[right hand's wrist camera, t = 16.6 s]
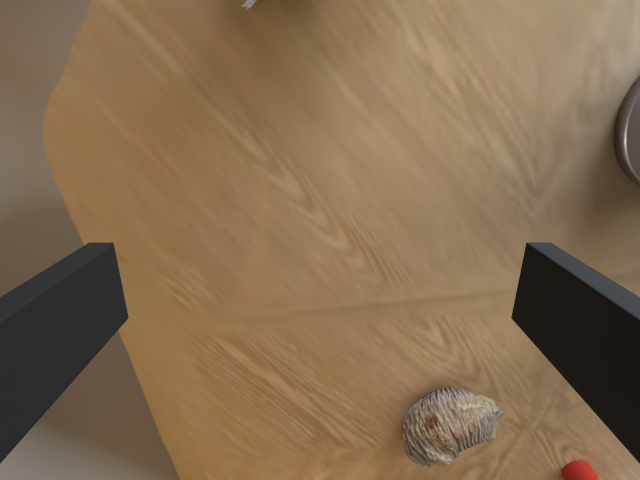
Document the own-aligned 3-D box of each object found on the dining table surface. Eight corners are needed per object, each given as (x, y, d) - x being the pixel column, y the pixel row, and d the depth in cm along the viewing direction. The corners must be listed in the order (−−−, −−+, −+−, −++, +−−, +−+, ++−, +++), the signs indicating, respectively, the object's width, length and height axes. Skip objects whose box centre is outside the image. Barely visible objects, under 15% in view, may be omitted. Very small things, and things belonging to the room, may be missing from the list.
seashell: (475, 362, 54) (499, 384, 44) (502, 431, 53) (533, 469, 43) (385, 391, 56) (389, 419, 46) (410, 460, 54) (420, 503, 45)
